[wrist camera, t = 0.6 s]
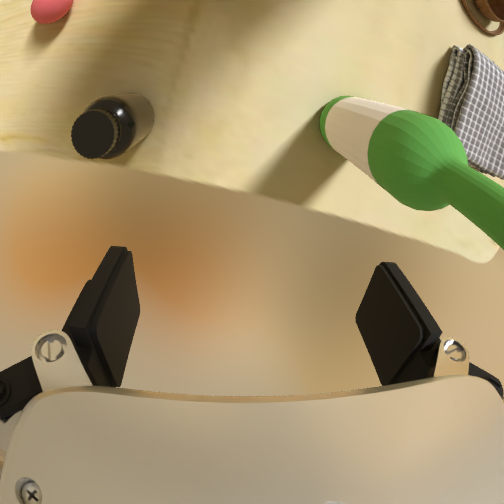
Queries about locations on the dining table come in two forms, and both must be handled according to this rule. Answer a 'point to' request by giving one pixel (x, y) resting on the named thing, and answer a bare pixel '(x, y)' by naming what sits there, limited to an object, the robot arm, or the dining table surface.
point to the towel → (475, 108)
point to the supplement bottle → (112, 125)
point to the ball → (49, 10)
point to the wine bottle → (413, 160)
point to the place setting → (489, 13)
